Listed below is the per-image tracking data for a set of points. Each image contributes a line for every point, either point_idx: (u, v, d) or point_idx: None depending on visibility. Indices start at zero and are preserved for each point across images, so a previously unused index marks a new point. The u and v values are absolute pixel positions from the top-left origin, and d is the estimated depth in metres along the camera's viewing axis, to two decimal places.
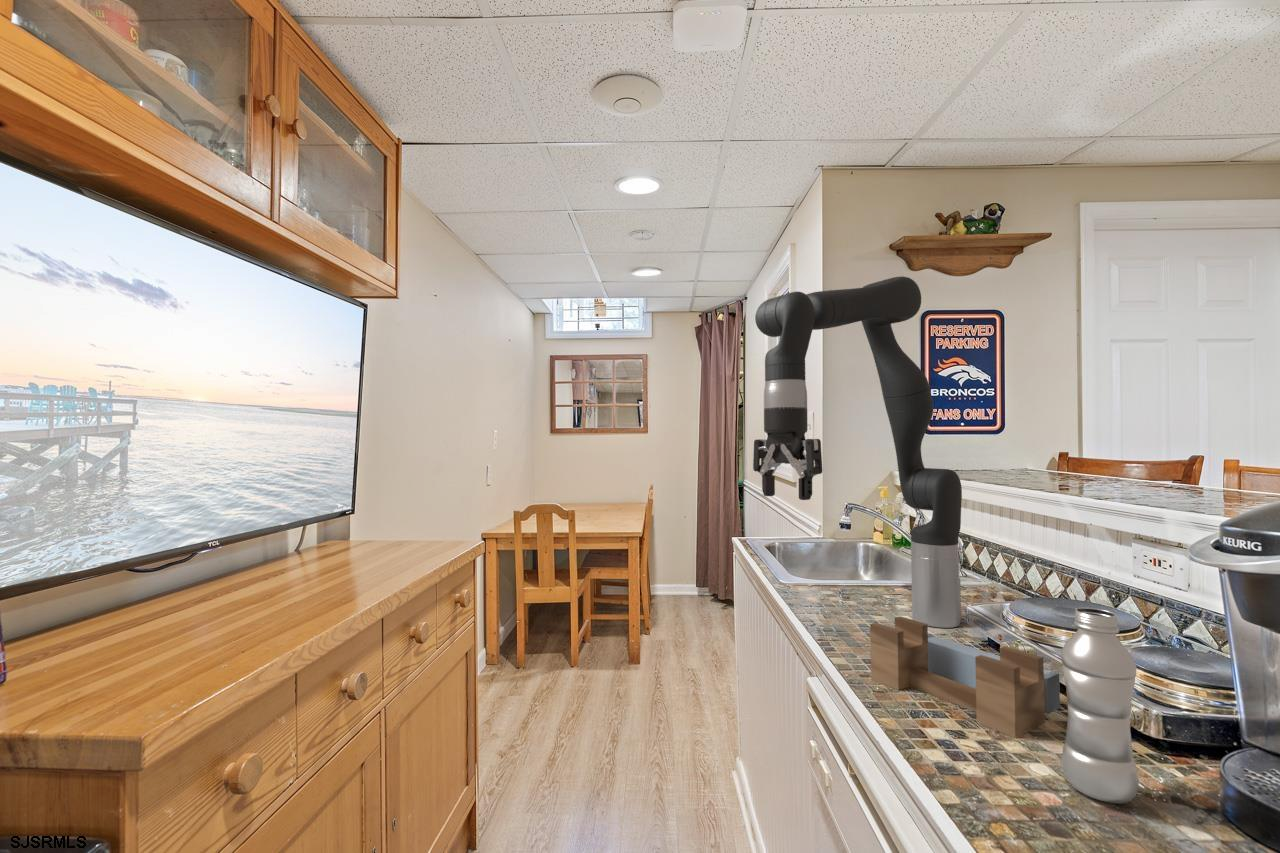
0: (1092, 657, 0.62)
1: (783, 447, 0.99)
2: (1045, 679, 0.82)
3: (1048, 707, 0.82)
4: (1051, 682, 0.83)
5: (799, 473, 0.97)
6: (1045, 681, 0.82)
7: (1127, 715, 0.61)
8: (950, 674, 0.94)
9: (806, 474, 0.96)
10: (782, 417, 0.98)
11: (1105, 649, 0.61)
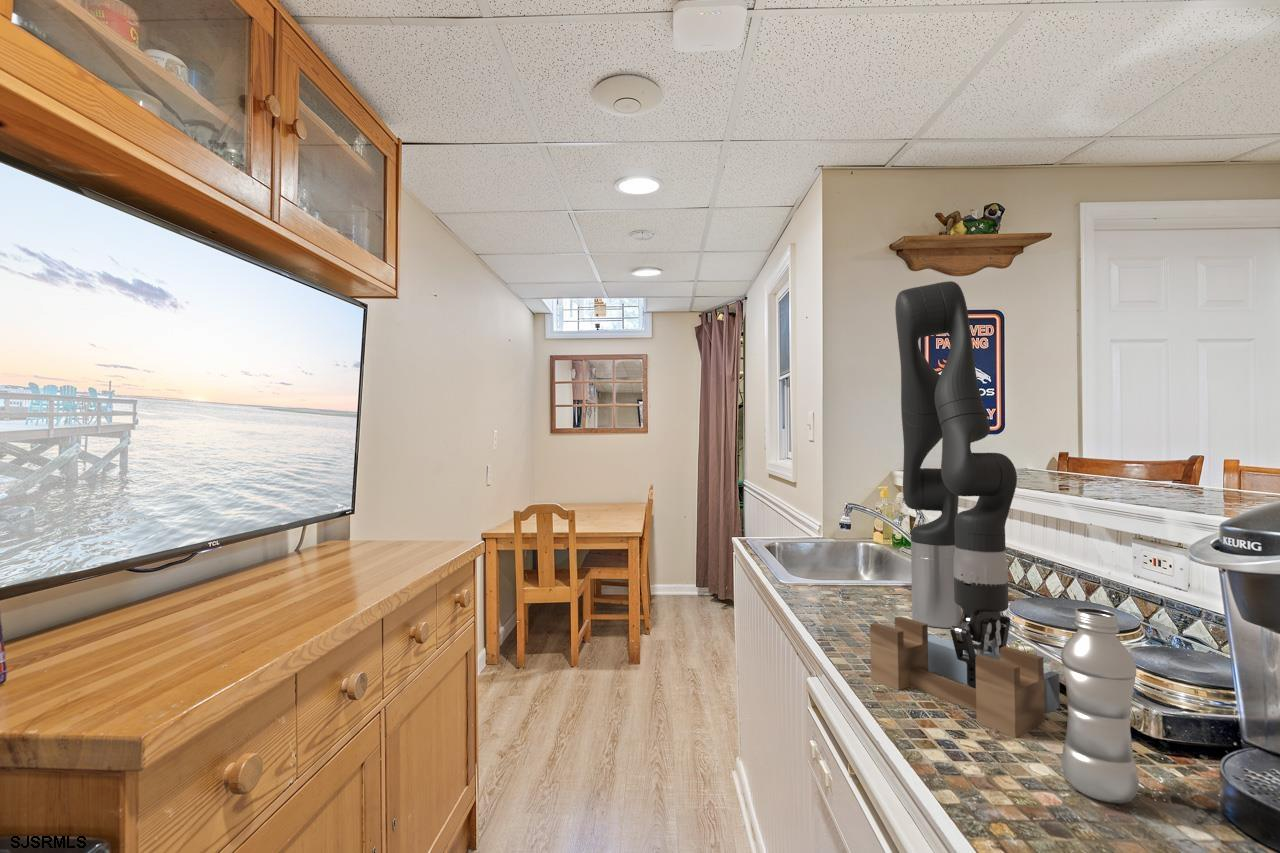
0: (1092, 657, 0.62)
1: (998, 624, 0.91)
2: (1045, 679, 0.82)
3: (1048, 707, 0.82)
4: (1050, 682, 0.83)
5: None
6: (1045, 681, 0.82)
7: (1127, 715, 0.61)
8: (950, 674, 0.94)
9: (997, 654, 0.93)
10: None
11: (1105, 649, 0.61)
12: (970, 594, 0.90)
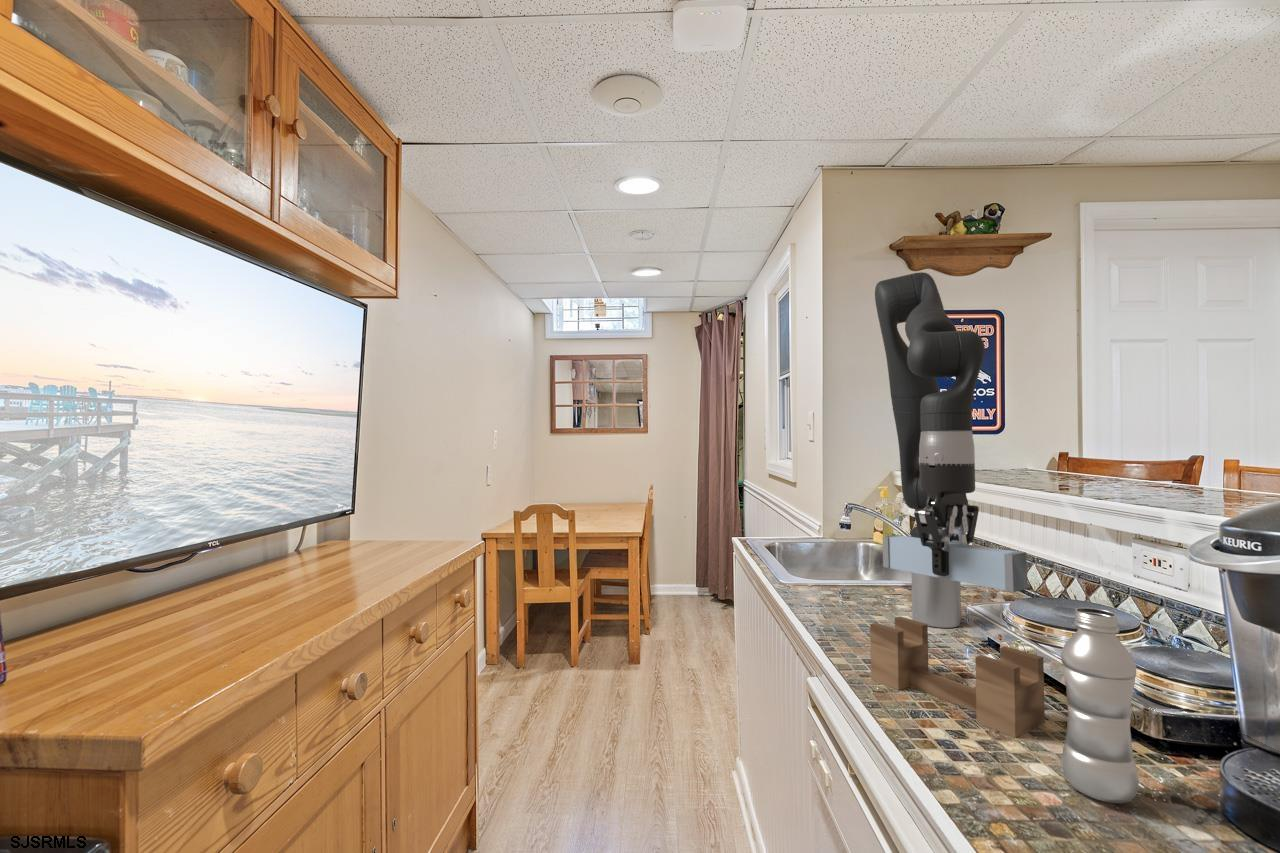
0: (1092, 657, 0.62)
1: (964, 509, 0.87)
2: (1011, 555, 0.78)
3: (1015, 585, 0.78)
4: (1017, 560, 0.79)
5: (963, 542, 0.88)
6: (1011, 558, 0.78)
7: (1127, 715, 0.61)
8: (916, 568, 0.90)
9: (964, 543, 0.88)
10: None
11: (1105, 649, 0.61)
12: (934, 476, 0.85)
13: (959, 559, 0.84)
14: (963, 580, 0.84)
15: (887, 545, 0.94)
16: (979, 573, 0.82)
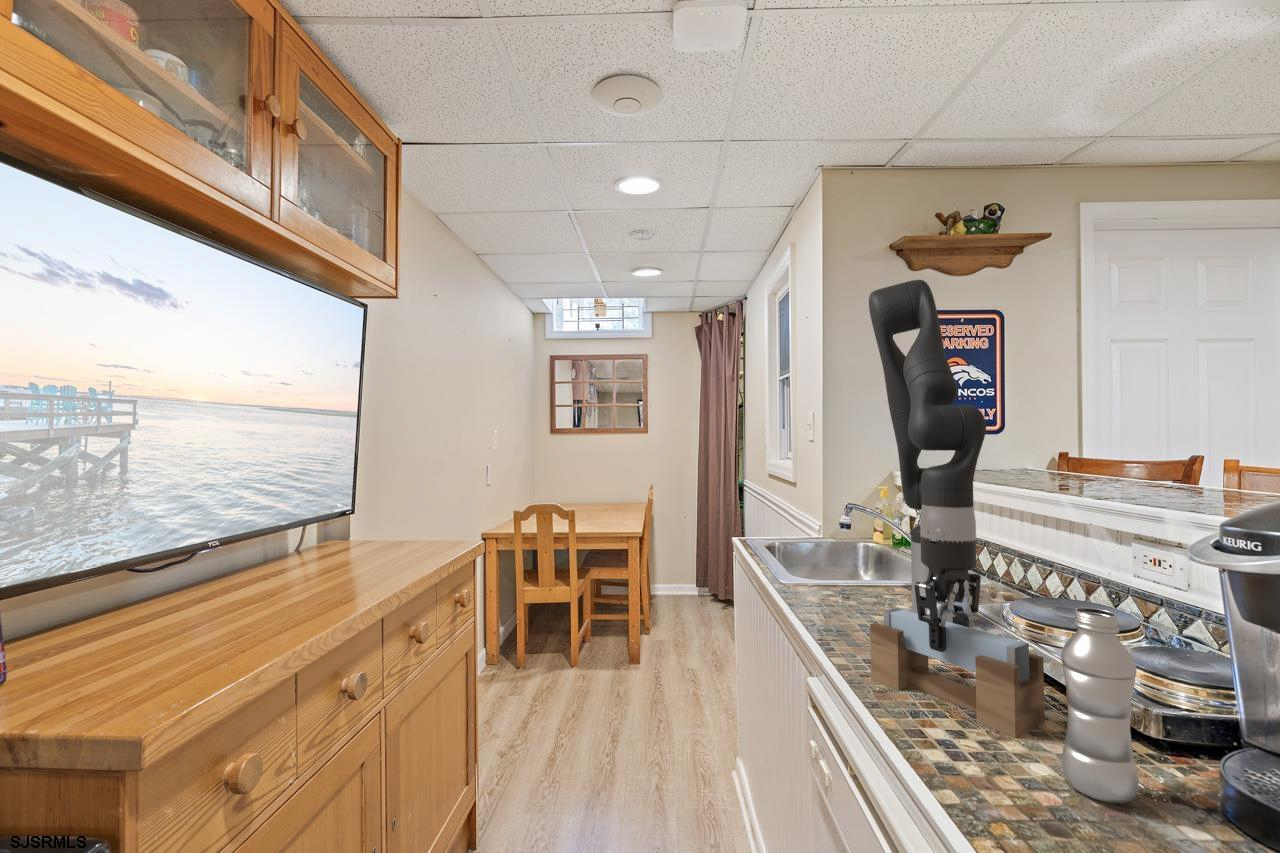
0: (1092, 657, 0.62)
1: (966, 584, 0.86)
2: (1013, 648, 0.78)
3: None
4: (1019, 652, 0.78)
5: (968, 614, 0.88)
6: (1013, 651, 0.78)
7: (1127, 715, 0.61)
8: (917, 647, 0.90)
9: None
10: None
11: (1105, 649, 0.61)
12: (936, 553, 0.85)
13: (960, 645, 0.84)
14: (965, 666, 0.83)
15: (888, 621, 0.94)
16: None
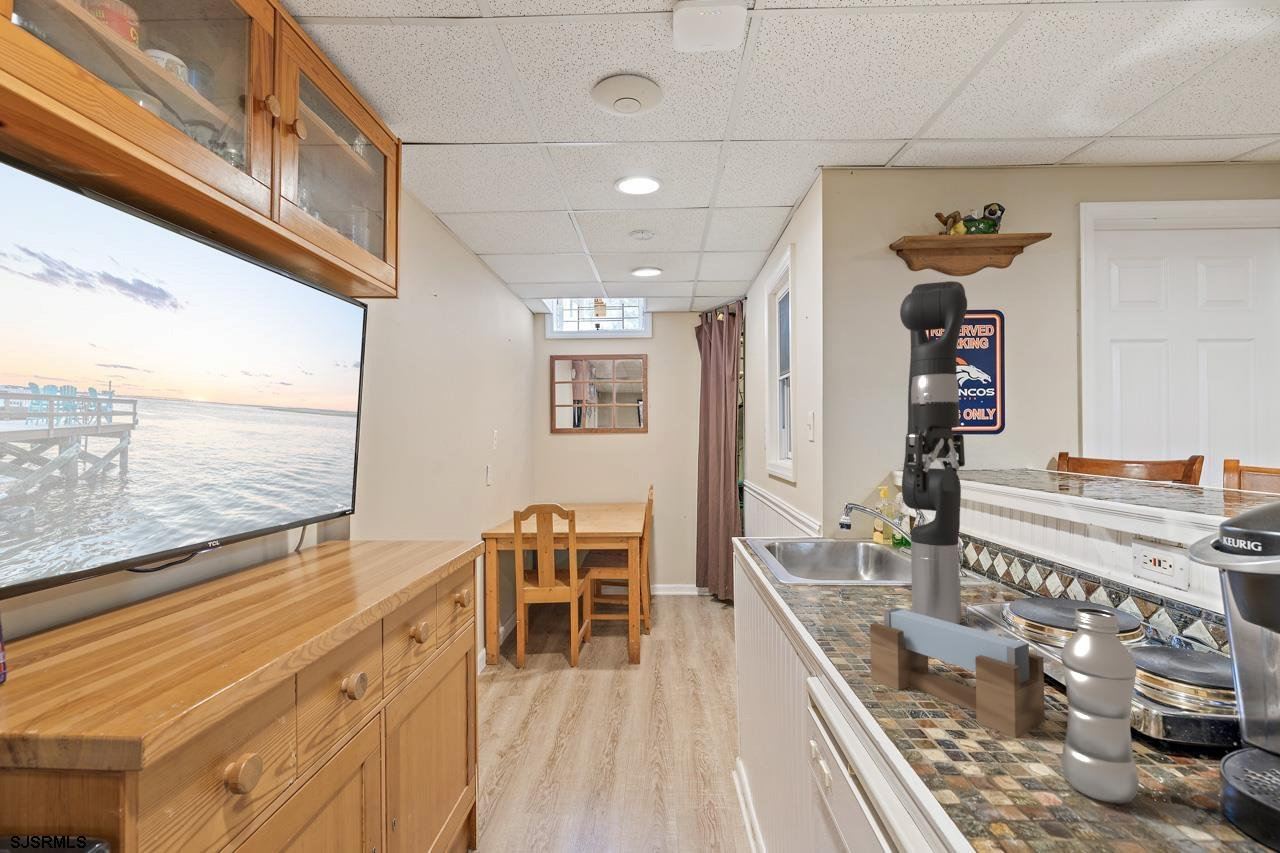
0: (1092, 657, 0.62)
1: (950, 442, 1.01)
2: (1013, 648, 0.78)
3: None
4: (1019, 652, 0.78)
5: (956, 466, 1.03)
6: (1013, 651, 0.78)
7: (1127, 715, 0.61)
8: (917, 647, 0.90)
9: None
10: None
11: (1105, 649, 0.61)
12: (924, 413, 1.00)
13: (960, 645, 0.84)
14: (965, 666, 0.83)
15: (888, 621, 0.94)
16: None
